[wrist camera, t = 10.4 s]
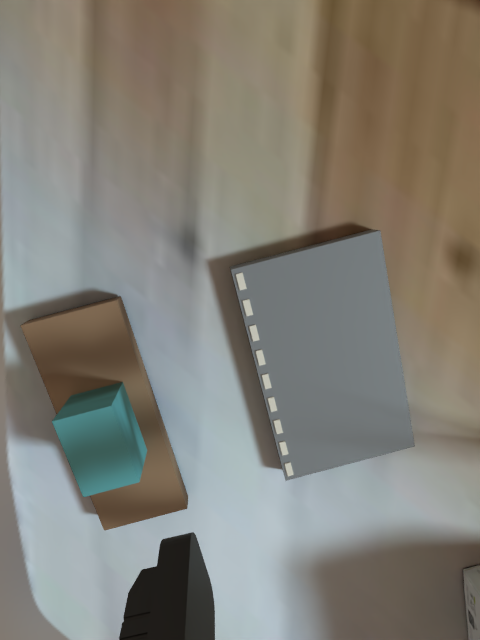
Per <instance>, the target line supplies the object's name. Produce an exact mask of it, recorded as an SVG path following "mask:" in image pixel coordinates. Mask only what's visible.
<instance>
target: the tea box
mask: <svg viewBox="0 0 480 640" xmlns="http://www.w3.org/2000/svg"><path fill="white" fill-rule="evenodd" d="M463 573H464V592H465V601H466V616H467V623H468V640H480V565H478V566H474V567H470V568H467V569H463Z"/></svg>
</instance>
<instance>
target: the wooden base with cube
mask: <svg viewBox="0 0 480 640" xmlns="http://www.w3.org/2000/svg"><path fill="white" fill-rule="evenodd" d="M21 328H22V330H23V333H24V335H25V338H26V340H27V343H28V345H29V348H30V350H31V352H32V355H33V357H34V360H35V362H36V365H37V367H38V370H39V372H40V374H41V377H42V379H43V382H44V384H45V387H46V389H47V392H48V394H49V397H50V399H51V401H52V404H53V406H54V409H55V411H56V414H57V415H56V417H55V418H54V419H53V421H52V423H53V425H54V428H55V430H56V433H57V435H58V437H59V440H60V442H61V445H62V447H63V449H64V452H65V454H66V457H67V459H68V461H69V464H70V466H71V469H72V471H73V474H74V476H75V478H76V481H77V483H78V486H79V488H80V490H81V493H82V495H83V497H86V496H90V497H91V499H92V502H93V504H94V507H95V509H96V511H97V514H98V516H99V519H100V521H101V524H102V526H103V529H104V530H108V529H112V528H116V527H119V526H123V525H127V524H131V523H134V522H138V521H142V520H146V519H149V518H153V517H157V516H161V515H165V514H168V513H172V512H176V511H180V510H183V509H187V505H188V495H187V492H186V489H185V486H184V483H183V480H182V477H181V474H180V471H179V468H178V465H177V462H176V459H175V456H174V453H173V450H172V447H171V444H170V441H169V438H168V435H167V432H166V429H165V426H164V423H163V420H162V417H161V414H160V411H159V408H158V405H157V403H156V400H155V397H154V394H153V391H152V388H151V385H150V382H149V379H148V376H147V373H146V370H145V367H144V364H143V361H142V358H141V355H140V352H139V349H138V346H137V343H136V340H135V337H134V334H133V331H132V328H131V325H130V322H129V319H128V316H127V313H126V310H125V307H124V304H123V301H122V298H121V296H119V297H115V298H111V299H108V300H104V301H100V302H96V303H92V304H89V305H85V306H81V307H77V308H73V309H70V310H66V311H62V312H58V313H54V314H51V315H47V316H43V317H39V318H36V319H32V320H29V321H27V322H25V323H24V324H22V325H21Z"/></svg>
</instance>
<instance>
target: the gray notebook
mask: <svg viewBox="0 0 480 640" xmlns="http://www.w3.org/2000/svg"><path fill="white" fill-rule="evenodd" d="M230 269H231V273H232V277H233V281H234V285H235V288H236V292H237V296H238V300H239V304H240V308H241V311H242V315H243V319H244V323H245V327H246V331H247V335H248V338H249V342H250V346H251V350H252V354H253V358H254V361H255V365H256V369H257V373H258V377H259V381H260V385H261V388H262V392H263V396H264V400H265V404H266V408H267V411H268V415H269V419H270V423H271V427H272V431H273V435H274V438H275V442H276V446H277V450H278V454H279V458H280V461H281V465H282V469H283V473H284V476H285V480H290V479H294V478H298V477H301V476H305V475H309V474H313V473H316V472H320V471H324V470H328V469H331V468H335V467H339V466H343V465H346V464H350V463H354V462H358V461H361V460H365V459H369V458H373V457H376V456H380V455H384V454H388V453H391V452H395V451H399V450H403V449H407V448H410V447H414V446H415V445H414V438H413V432H412V426H411V420H410V413H409V407H408V401H407V395H406V389H405V382H404V376H403V370H402V364H401V357H400V351H399V345H398V339H397V332H396V326H395V320H394V314H393V308H392V301H391V295H390V289H389V283H388V276H387V270H386V264H385V258H384V252H383V245H382V239H381V233H380V230H373V229H372V230H368V231H364V232H361V233H357V234H353V235H349V236H345V237H342V238H338V239H334V240H330V241H326V242H323V243H319V244H315V245H311V246H307V247H304V248H300V249H296V250H292V251H288V252H285V253H281V254H277V255H273V256H269V257H266V258H262V259H258V260H254V261H250V262H247V263H243V264H239V265H235V266H231V267H230Z"/></svg>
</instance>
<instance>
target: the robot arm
mask: <svg viewBox="0 0 480 640" xmlns="http://www.w3.org/2000/svg"><path fill="white" fill-rule="evenodd" d="M119 639H120V640H215V610H214V598H213V591H212V586H211V582H210V578H209V575H208V572H207V569H206V566H205V563H204V559H203V556H202V553H201V550H200V547H199V544H198V541H197V538H196V535H195V534H194V533H193V532H192V533H188V534H184V535H179V536H175V537H171V538H166V539H163V540H162V541H161V544H160V550H159V556H158V563H157V566H156V567H152V568H147V569H143V570H141V572H140V574H139V576H138V577H137V579H136V581H135V583H134V584H133V586H132V588H131V589H130V591H129V593H128V598H127V603H126V608H125V613H124V622H123V623H122V628H121V632H120V637H119Z"/></svg>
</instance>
